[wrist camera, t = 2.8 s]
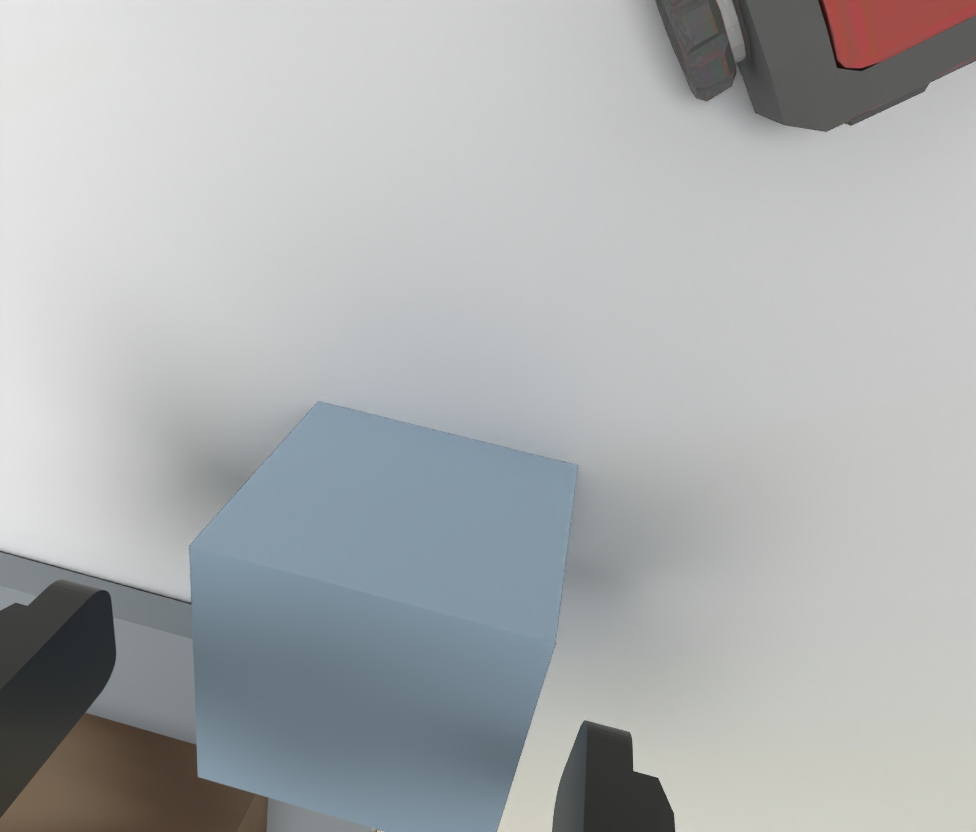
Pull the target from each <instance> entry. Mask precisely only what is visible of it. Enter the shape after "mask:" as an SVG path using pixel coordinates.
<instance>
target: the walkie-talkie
mask: <svg viewBox="0 0 976 832" xmlns="http://www.w3.org/2000/svg"><path fill="white" fill-rule="evenodd" d="M656 3H657V6H658V9H659V12H660V15H661V18H662V20H663V23H664V26H665V29H666V31H667V34H668V36H669V39H670V41H671V44H672V47H673V49H674V51H675V54H676V56H677V58H678V60H679V63H680V65H681V67H682V70H683V72H684V74H685V76H686V79H687V81H688V84H689V87H690V89H691V91H692V92H693V94H694V95H695V97H696V98H698V99H701V100H704V101H708V100H710V99H712V98H713V97H715V96H716V95H718V94H720V93H721V92H723V91H724V90H726V89H728V88H729V87H731V86H732V83H733V81H734V78H735V75H736V67H735V64H736V63H738V66H739V69H740V72H741V74H742V77H743V80H744V82H745V85H746V88H747V91H748V94H749V96H750V99H751V102H752V105H753V108H754V111H755V113H758V114H760V115H762V116H765V117H767V118H769V119H771V120H774V121H776V122H778V123H781V124H783V125H787V126H793V127H800V128H806V129H812V130H819V131H825V132H827V131H829V130H831V129H833V128H835V127H837V126H839V125H842V124H844V123H845V124H848V125H851V126H852V125H854V124H856V123H858V122H860V121H862V120H864V119H867V118H869V117H871V116H873V115H875V114H877V113H879V112H882V111H884V110H886V109H888V108H890V107H892V106H894V105H896V104H899V103H901V102H903V101H905V100H907V99H909V98H911V97H914V96H916V95H918V94H920V93H922V92H924V91H925V89H926V88H927V86H928V85H929V83H930V82H932V81H934V80H936V79H938V78H941V77H943V76H945V75H947V74H949V73H951V72H953V71H955V70H957V69H960V68H962V67H964V66H966V65H968V64H970V63H972V62H974V61H976V0H656Z"/></svg>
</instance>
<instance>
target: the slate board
mask: <svg viewBox="0 0 976 832" xmlns="http://www.w3.org/2000/svg"><path fill="white" fill-rule="evenodd" d="M61 579H64V580H69V581H72V582H76V583H80V584H84V585H87V586H91V587H95V588H99V589H102V590H106V591H108V592H109V594H110V596H111V601H112V612H113V622H114V632H115V643H116V662H115V666H114V669H113V672H112V674H111V677H110V679H109V681H108V683H107V684H106V686H105V688H104V689H103V691H102V692H101V693H100V695H99V696H98V697H97V698H96V700H95V701H94V702H93V703H92V705H91V706H90V707H89V708H88V710H87V711H86V712H85V713H89V714H92V715H95V716H99V717H102V718H106V719H109V720H113V721H116V722H120V723H123V724H127V725H130V726H133V727H137V728H140V729H144V730H147V731H151V732H154V733H158V734H161V735H165V736H168V737H171V738H175V739H178V740H182V741H185V742H189V743H192V744H196V745H197V742H196V715H195V688H194V660H193V633H192V606H191V604H188V603H184V602H180V601H177V600H173V599H170V598H166V597H162V596H159V595H155V594H151V593H148V592H144V591H140V590H137V589H133V588H129V587H126V586H122V585H119V584H115V583H111V582H108V581H104V580H100V579H97V578H93V577H89V576H86V575H82V574H78V573H75V572H71V571H68V570H64V569H60V568H57V567H53V566H49V565H46V564H42V563H38V562H35V561H31V560H27V559H24V558H20V557H17V556H13V555H9V554H6V553H2V552H0V610H2V609H4V608H6V607H8V606H10V605H12V604H14V603H19V604H23V605H26V606H28V605H29V604H30V603H31V602H32V601H33V600H34V599H35V598H36V597H38V596H39V595H40V594H41V593H42V592H43V591H44V590H45V589H46V588H47V587H48V586H49V585H51V584H52V583H54V582H55V581H58V580H61ZM376 831H377V829H374V828H371V827H368V826H364V825H361V824H357V823H354V822H350V821H347V820H344V819H340V818H337V817H333V816H330V815H326V814H323V813H320V812H316V811H313V810H309V809H306V808H303V807H299V806H296V805H292V804H289V803H285V802H282V801H279V800H275V799H272V798H268V812H267V832H376Z"/></svg>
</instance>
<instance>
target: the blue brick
mask: <svg viewBox="0 0 976 832" xmlns="http://www.w3.org/2000/svg"><path fill="white" fill-rule="evenodd" d="M577 469H578V465H575V464H571V463H567V462H563V461H559V460H555V459H551V458H547V457H543V456H539V455H535V454H531V453H526V452H522V451H518V450H514V449H510V448H506V447H502V446H498V445H494V444H490V443H486V442H482V441H478V440H474V439H470V438H466V437H462V436H458V435H454V434H449V433H445V432H441V431H437V430H433V429H429V428H425V427H421V426H417V425H413V424H409V423H405V422H401V421H397V420H393V419H389V418H385V417H381V416H377V415H372V414H368V413H364V412H360V411H356V410H352V409H348V408H344V407H340V406H336V405H332V404H328V403H324V402H320V401H319V402H318V403H317V404H316V405H315V406H314V407H313V408H312V409H311V410H310V412H309V413H308V414H307V415H306V416H305V417H304V418H303V419H302V420H301V422H300V423H299V424H298V425H297V426H296V427H295V428H294V429H293V431H292V432H291V433H290V434H289V435H288V436H287V437H286V438H285V439H284V441H283V442H282V443H281V444H280V445H279V446H278V447H277V448H276V449H275V451H274V452H273V453H272V454H271V455H270V456H269V457H268V458H267V460H266V461H265V462H264V463H263V464H262V465H261V466H260V467H259V468H258V470H257V471H256V472H255V473H254V474H253V475H252V476H251V477H250V478H249V480H248V481H247V482H246V483H245V484H244V485H243V486H242V487H241V489H240V490H239V491H238V492H237V493H236V494H235V495H234V496H233V497H232V499H231V500H230V501H229V502H228V503H227V504H226V505H225V506H224V507H223V509H222V510H221V511H220V512H219V513H218V514H217V515H216V516H215V518H214V519H213V520H212V521H211V522H210V523H209V524H208V525H207V526H206V528H205V529H204V530H203V531H202V532H201V533H200V534H199V535H198V536H197V538H196V539H195V540H194V541H193V542H192V543H191V544H190V545H189V551H190V579H191V606H192V633H193V660H194V688H195V715H196V742H197V769H198V777H200V778H203V779H207V780H210V781H214V782H217V783H220V784H224V785H227V786H231V787H234V788H238V789H241V790H244V791H248V792H251V793H255V794H258V795H262V796H265V797H268V798H272V799H275V800H279V801H282V802H285V803H289V804H292V805H296V806H299V807H303V808H306V809H309V810H313V811H316V812H320V813H323V814H326V815H330V816H333V817H337V818H340V819H344V820H347V821H350V822H354V823H357V824H361V825H364V826H368V827H371V828H374V829H378V830H381V831H385V832H497V830H498V826H499V823H500V820H501V817H502V814H503V810H504V807H505V804H506V801H507V798H508V794H509V791H510V788H511V785H512V782H513V778H514V775H515V772H516V769H517V765H518V762H519V759H520V756H521V753H522V749H523V746H524V743H525V740H526V737H527V733H528V730H529V727H530V724H531V721H532V717H533V714H534V711H535V708H536V705H537V701H538V698H539V695H540V692H541V689H542V685H543V682H544V679H545V676H546V672H547V669H548V666H549V663H550V660H551V656H552V653H553V650H554V647H555V644H556V636H557V628H558V620H559V612H560V604H561V596H562V588H563V580H564V572H565V564H566V556H567V548H568V540H569V532H570V524H571V516H572V508H573V500H574V492H575V484H576V476H577Z"/></svg>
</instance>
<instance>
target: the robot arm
mask: <svg viewBox="0 0 976 832" xmlns="http://www.w3.org/2000/svg"><path fill="white" fill-rule="evenodd" d="M115 662H116V643H115V632H114V622H113V612H112V601H111V596H110V594H109V592H108V591H106V590H102V589H99V588H95V587H91V586H87V585H84V584H80V583H76V582H72V581H69V580H64V579H61V580H58V581H55V582H54V583H52V584H51V585H49V586H48V587H47V588H46V589H45V590H44V591H43V592H42V593H41V594H40V595H39V596H38V597H36V598H35V599H34V600H33V601H32V602H31V603H30V604H29V605H28V606H26V605H23V604H19V603H14V604H12V605H10V606H8V607H6V608H4V609H2V610H0V818H1V817H2V816H3V814H4V813H5V812H6V811H7V809H8V808H9V807H10V806H11V804H12V803H13V802H14V801H15V799H16V798H17V797H18V796H19V794H20V793H21V792H22V791H23V789H24V788H25V787H26V786H27V784H28V783H29V782H30V781H31V779H32V778H33V777H34V776H35V774H36V773H37V772H38V771H39V769H40V768H41V767H42V766H43V764H44V763H45V762H46V761H47V759H48V758H49V757H50V756H51V754H52V753H53V752H54V751H55V750H56V748H57V747H58V746H59V745H60V743H61V742H62V741H63V740H64V738H65V737H66V736H67V735H68V733H69V732H70V731H71V730H72V728H73V727H74V726H75V725H76V723H77V722H78V721H79V720H80V718H81V717H82V716H83V715H84V713H85V712H86V711H87V710H88V708H89V707H90V706H91V705H92V703H93V702H94V701H95V700H96V698H97V697H98V696H99V695H100V693H101V692H102V691H103V689H104V688H105V686H106V684H107V683H108V681H109V679H110V677H111V674H112V672H113V669H114V666H115ZM552 832H675V823H674V813H673V811H672V808H671V806H670V804H669V802H668V799H667V797H666V795H665V793H664V790H663V788H662V786H661V784H660V781H659V779H658V778H656V777H653V776H649V775H645V774H641V773H638V772H634V771H633V747H632V737H631V734H630V732H627V731H623V730H620V729H616V728H612V727H608V726H605V725H601V724H597V723H593V722H590V721H586V720H585V721H583V723H582V725H581V727H580V730H579V732H578V735H577V737H576V740H575V743H574V745H573V748H572V750H571V753H570V756H569V758H568V761H567V764H566V766H565V769H564V771H563V774H562V777H561V780H560V783H559V787H558V792H557V797H556V802H555V808H554V816H553V828H552Z"/></svg>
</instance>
